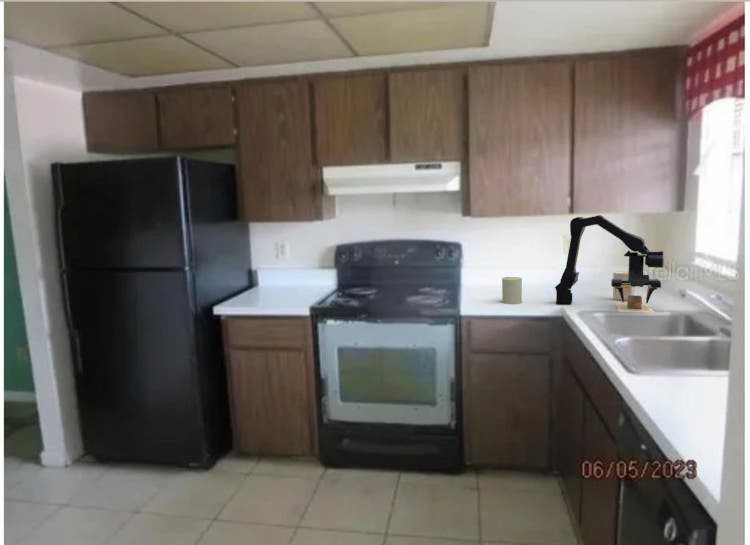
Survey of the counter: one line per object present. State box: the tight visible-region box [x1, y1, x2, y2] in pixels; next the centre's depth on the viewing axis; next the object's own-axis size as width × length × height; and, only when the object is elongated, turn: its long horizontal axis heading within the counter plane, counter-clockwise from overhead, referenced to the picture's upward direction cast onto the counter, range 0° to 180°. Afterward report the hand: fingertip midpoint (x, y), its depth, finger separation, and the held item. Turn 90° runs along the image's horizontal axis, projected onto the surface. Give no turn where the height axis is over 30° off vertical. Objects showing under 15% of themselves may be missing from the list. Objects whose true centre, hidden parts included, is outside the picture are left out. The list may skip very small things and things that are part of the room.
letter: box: [615, 303, 656, 314], centre depth 228 cm, size 14×16×1 cm
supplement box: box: [612, 271, 635, 302], centre depth 244 cm, size 8×5×13 cm, turn 48°
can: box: [501, 276, 523, 305], centre depth 250 cm, size 9×9×12 cm
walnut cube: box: [627, 294, 643, 309], centre depth 227 cm, size 5×5×5 cm
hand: (634, 302), depth 227 cm, fingers open, 9 cm apart
